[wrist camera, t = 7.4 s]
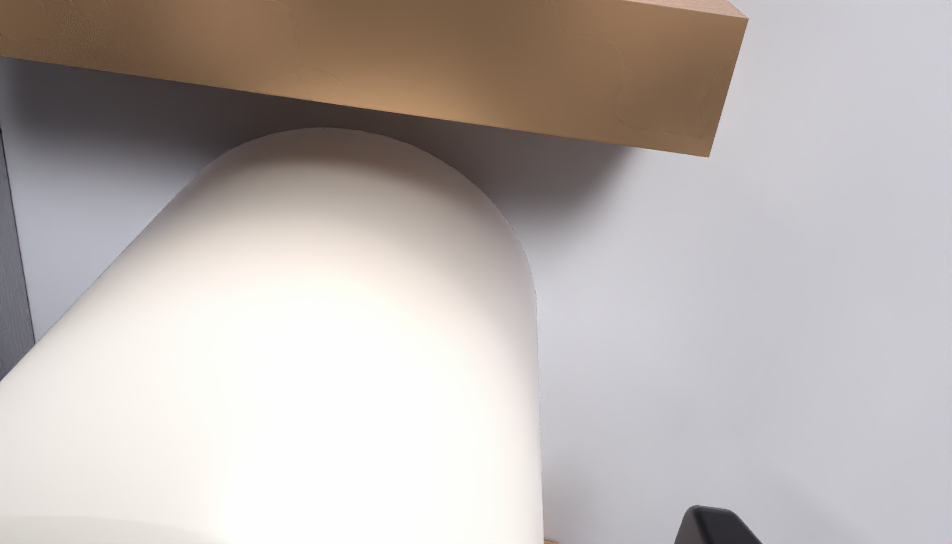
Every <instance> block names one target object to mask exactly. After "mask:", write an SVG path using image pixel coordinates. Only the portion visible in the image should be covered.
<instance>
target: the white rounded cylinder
mask: <svg viewBox="0 0 952 544" xmlns="http://www.w3.org/2000/svg"><path fill="white" fill-rule="evenodd" d="M0 544H544V534H543V502H542V469H541V436H540V403H539V370H538V337H537V306H536V292H535V287H534V282H533V276H532V272H531V269H530V266H529V263H528V261H527V258H526V255H525V252H524V250H523V248H522V246H521V244H520V242H519V240H518V238H517V236H516V234H515V232H514V230H513V229H512V227H511V226H510V224H509V223H508V222H507V220H506V219H505V217H504V216H503V214H502V213H501V212H500V210H499V209H498V208H497V207H496V206H495V204H494V203H493V202H492V201H491V200H490V199H489V198H488V197H487V196H486V195H485V194H484V193H483V191H482V190H481V189H480V188H478V187H477V186H476V185H475V184H474V183H472V182H471V181H470V180H469V179H468V178H466V177H465V176H464V175H463V174H462V173H460V172H459V171H457V170H456V169H454V168H453V167H451V166H450V165H448V164H447V163H445V162H443V161H442V160H440V159H439V158H437V157H436V156H433V155H431V154H429V153H427V152H425V151H423V150H421V149H419V148H417V147H415V146H413V145H411V144H408V143H405V142H402V141H399V140H396V139H393V138H390V137H387V136H384V135H379V134H374V133H370V132H365V131H360V130H355V129H342V128H330V127H323V128H302V129H295V130H289V131H283V132H278V133H272V134H269V135H266V136H263V137H260V138H257V139H254V140H251V141H248V142H246V143H244V144H242V145H240V146H238V147H236V148H234V149H231V150H229V151H227V152H225V153H224V154H222V155H221V156H219V157H218V158H217V159H215V160H214V161H212V162H211V163H209V164H208V165H206V166H205V167H204V168H203V169H202V170H201V171H200V172H199V173H198V174H196V175H195V176H194V177H193V178H192V179H191V180H190V181H189V182H188V183H187V184H186V185H185V186H184V187H183V188H182V189H181V190H180V191H179V193H178V194H177V195H176V196H175V197H174V198H173V199H172V200H171V201H170V202H169V203H168V204H167V205H166V206H165V207H164V208H163V210H162V211H161V212H160V213H159V214H158V215H157V216H156V217H155V218H154V219H153V220H152V221H151V222H150V223H149V224H148V225H147V227H146V228H145V229H144V230H143V231H142V232H141V233H140V234H139V235H138V236H137V237H136V238H135V239H134V240H133V241H132V242H131V243H130V245H129V246H128V247H127V248H126V249H125V250H124V251H123V252H122V253H121V254H120V255H119V256H118V257H117V258H116V259H115V260H114V262H113V263H112V264H111V265H110V266H109V267H108V268H107V269H106V270H105V271H104V272H103V273H102V274H101V275H100V276H99V277H98V278H97V280H96V281H95V282H94V283H93V284H92V285H91V286H90V287H89V288H88V289H87V290H86V291H85V292H84V293H83V294H82V295H81V297H80V298H79V299H78V300H77V301H76V302H75V303H74V304H73V305H72V306H71V307H70V308H69V309H68V310H67V311H66V312H65V313H64V315H63V316H62V317H61V318H60V319H59V320H58V321H57V322H56V323H55V324H54V325H53V326H52V327H51V328H50V329H49V330H48V332H47V333H46V334H45V335H44V336H43V337H42V338H41V339H40V340H39V341H38V342H37V343H36V344H35V345H34V346H33V347H32V348H31V350H30V351H29V352H28V353H27V354H26V355H25V356H24V357H23V358H22V359H21V360H20V361H19V362H18V363H17V364H16V365H15V367H14V368H13V369H12V370H11V371H10V372H9V373H8V374H7V375H6V376H5V377H4V378H3V379H2V380H1V381H0Z"/></svg>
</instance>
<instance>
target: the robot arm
mask: <svg viewBox="0 0 952 544" xmlns="http://www.w3.org/2000/svg"><path fill="white" fill-rule="evenodd" d="M674 544H762V543H761V542H760V540H759V539H758V538H757V537H756V536H755V535H754V534H753V532H752V531H751V530H750V529H749V528H748V527H747V526H746V525H745V523H744V522H743V521H742V520H741V519H740V518H739V517H738V516H737V515H736V514H735V513H733V512H732V511H730V510H727V509H722V508H714V507H707V506H700V505H695V506H692V507H690V508H689V509H688V510H687V511H686V513H685V515H684V517H683V520H682V523H681V526H680V528H679V531H678V534H677V537H676V540H675V543H674Z"/></svg>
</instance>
